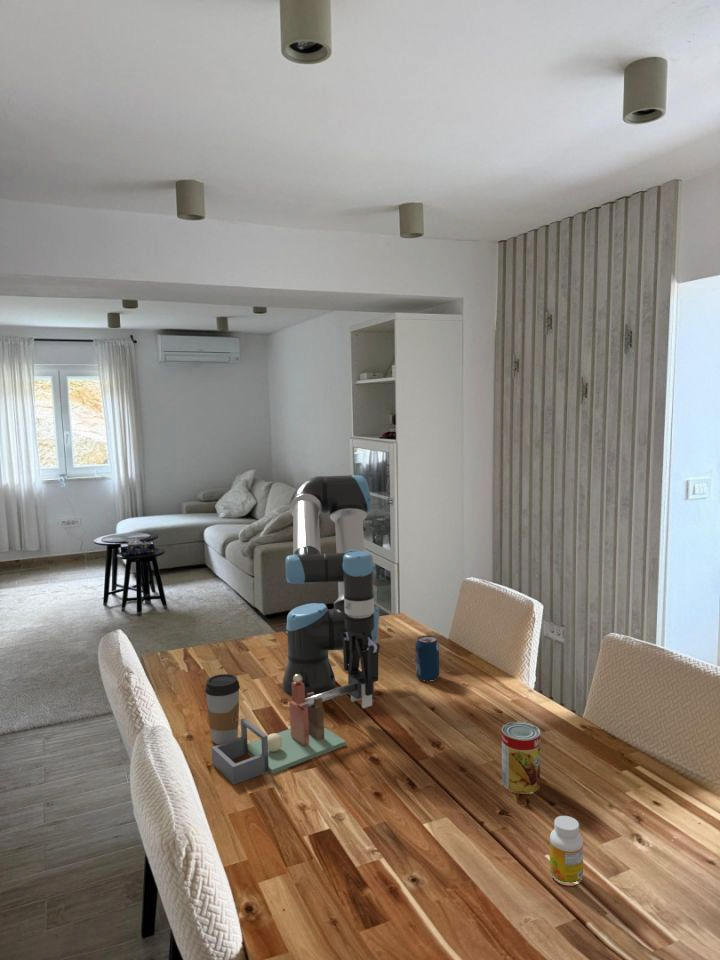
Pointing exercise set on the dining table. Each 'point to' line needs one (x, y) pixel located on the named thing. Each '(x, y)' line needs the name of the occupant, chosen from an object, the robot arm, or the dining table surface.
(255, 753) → the mat
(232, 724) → the coffee cup
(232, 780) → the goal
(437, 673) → the soda can
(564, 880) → the supplement bottle
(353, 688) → the stand
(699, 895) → the dining table surface
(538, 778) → the canned food
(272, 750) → the ball
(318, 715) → the foosball player figure
